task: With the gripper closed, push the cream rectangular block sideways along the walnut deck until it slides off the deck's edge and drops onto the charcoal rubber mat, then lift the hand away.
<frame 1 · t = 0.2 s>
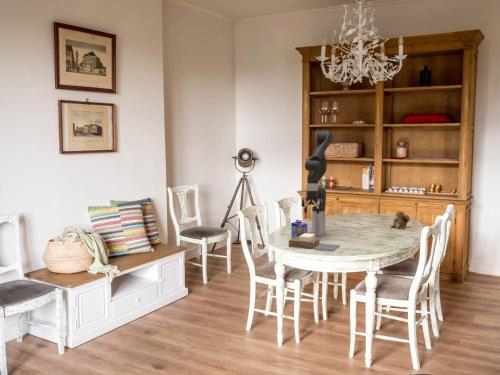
hand: (311, 213, 337), 18 cm above the table, tool pointing down, fingers open, 8 cm apart
deck: (304, 245, 320), on the table
stuffed squirrel: (400, 228, 373), on the table
ink cartridge box: (299, 240, 334), on the table
mat: (326, 247, 313), on the table
cream rectangular block: (307, 237, 318), point 5 cm above the table, touching deck
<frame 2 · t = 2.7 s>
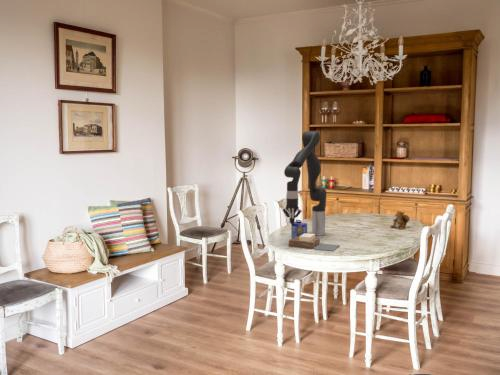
hand: (292, 223, 322), 14 cm above the table, tool pointing down, fingers closed
nothing on the table moved.
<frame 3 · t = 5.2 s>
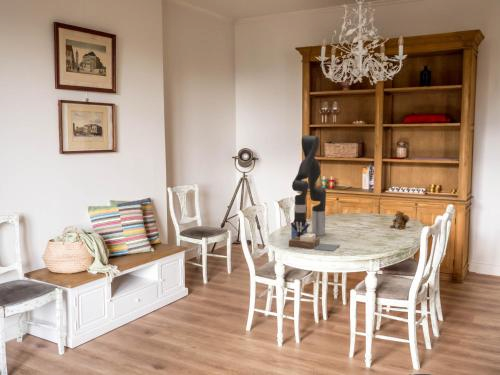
hand: (300, 237, 320), 5 cm above the table, tool pointing down, fingers closed
cream rectangular block: (307, 237, 318), point 6 cm above the table, touching deck, gripper
everything else where it was.
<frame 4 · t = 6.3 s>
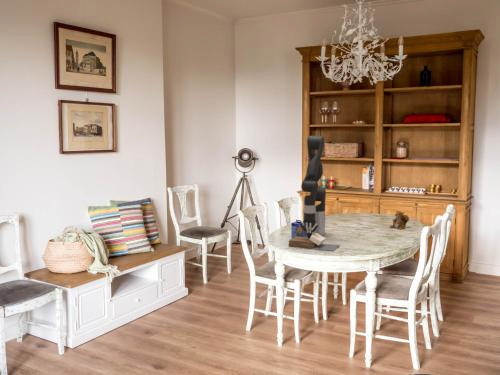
hand: (309, 238, 317), 5 cm above the table, tool pointing down, fingers closed
cream rectangular block: (317, 239, 315), point 5 cm above the table, tilted 25°, touching deck
everything else where it was.
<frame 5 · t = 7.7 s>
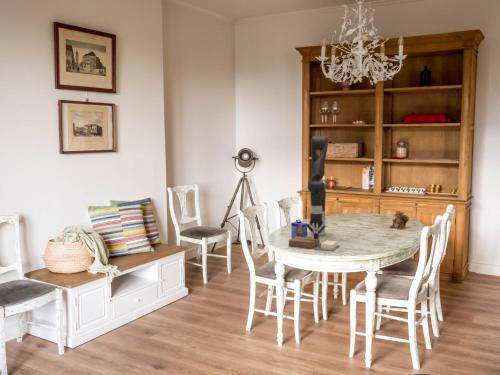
hand: (316, 239, 316), 5 cm above the table, tool pointing down, fingers closed
cream rectangular block: (329, 244, 312), point 2 cm above the table, tilted 180°, touching mat
everything else where it was.
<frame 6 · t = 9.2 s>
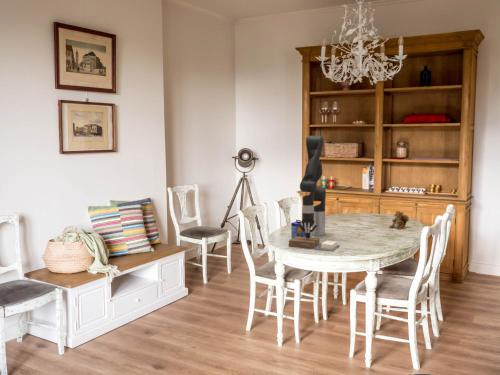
hand: (307, 238, 318), 5 cm above the table, tool pointing down, fingers closed
nothing on the table moved.
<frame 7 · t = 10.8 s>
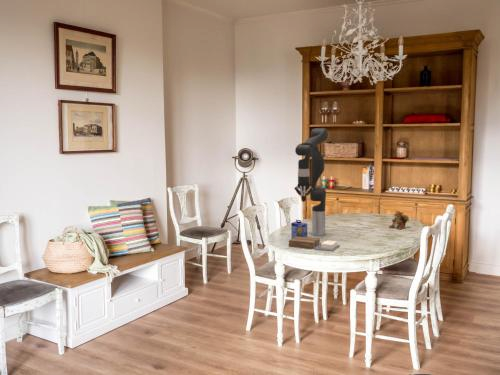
hand: (303, 201, 325), 28 cm above the table, tool pointing down, fingers closed
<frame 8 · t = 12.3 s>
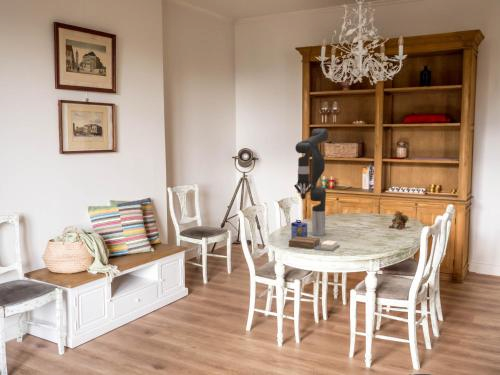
hand: (303, 199, 326), 29 cm above the table, tool pointing down, fingers closed
at the end: cream rectangular block point 2.1 cm above the table; cream rectangular block inside the target area (1.9 cm from its centre), point 2.1 cm above the table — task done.
